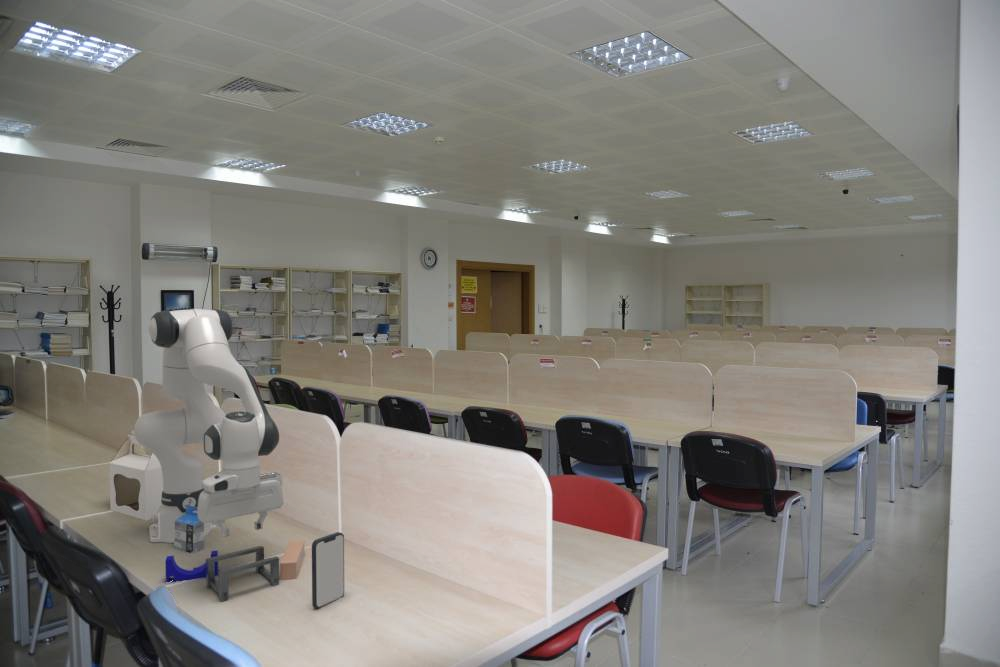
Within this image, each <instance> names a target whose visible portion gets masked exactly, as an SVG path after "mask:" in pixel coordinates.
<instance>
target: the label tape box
mask: <svg viewBox="0 0 1000 667" xmlns="http://www.w3.org/2000/svg"><path fill="white" fill-rule="evenodd" d="M185 507H186V513H185V514H184V515H182V516H181V517H180V518H178V519H177V520H175V540H174V543H173V544H174V546H173V547H174V549H175V550H180V551H183V552H186V553H190V554H195V553H198V552H200V551H202V550H205V536H204V523H203V522H201V521H200V520H199V519H198V516H197V513H195V512H192V510H195V511H197V510H198V507H194V506H189V505H185Z"/></svg>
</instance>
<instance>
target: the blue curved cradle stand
mask: <svg viewBox="0 0 1000 667" xmlns="http://www.w3.org/2000/svg"><path fill="white" fill-rule="evenodd" d="M210 552H211V553H210V557H209V558H211V557H215V556H219V550H211V551H210ZM217 576H219V561H217V562H215V577H217ZM205 578H206V562H204V563H203V564H202V565H200V566H197V567H194V568H193V569H191V570H188V569H185V568H182V567H180V566H179V565H178V564H177V562H176V560H175V556H174V555H167V556H166V558H165V583H166V582H170V581H172V580H173V581H172V582H171V583H177V582H176V581H179V582H184V581H183V580H186V581H192V580H193V579H194V580H199V579H205Z"/></svg>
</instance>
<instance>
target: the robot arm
mask: <svg viewBox="0 0 1000 667" xmlns="http://www.w3.org/2000/svg"><path fill="white" fill-rule="evenodd" d="M233 326H234V325H233V320H232V317H231V315H230V314H229V313H228V312H227V311H225V310H222V309H217V308H214V309H205V308H190V309H178V310H167V309H166V310H162V311H161V310H160V311H158V312H155V313H154V314H153V315H152V317H151V318H150V321H149V325H148V331H149V332H148V333H149V336H150V338H151V341H152V343H153V344H154V345H156V347H160V348H163V352H162V378H161V379H162V389H163V392H164V393H165V395H167V396H170V397H172V398H173V399H177V400H179V401H182V402H184V407H181V408H173V409H163V410H162V409H161V410H155V411H151V412H147V413H144V414H141V415H140V416H139V417H138V418H137V420H136V421H135V423H134V428H133V430H134V435H135V438H136V440H137V441H138V442H139V444H141V446H142V448H146V449H147V450H148V451H150V452H151V454H152V453H153V454H154V455H155V456H156V457H157V459H158V460H159V462H160V465H161V468H162V475H163V491H162V495H161V503H162V504H161V506H160V507H159V509H158V510H157V515H151V519H150V520H151V521H150V522H151V523H152V524H150V525H149V527H148V531H149V533H148V534H149V543H168V544H169V543H170V544H171V543H173V544H174V540H175V520H177V519H178V518H180V517H181V516H182V515H184V514H185V513H186V507H185V505H189V506H194V507H198V510H197V511H195V510H192V512H195V513H197V516H198V519H199V520H200V521H201V522H203V523H204V537H205V536H206V535H208V534H209V533H210V532H211V531H212V530H214V529H215V528H217V526H218V527H219V530H220V532H221V534H220V535H221V536H220V537H222V538H227V537H230V533H231V532H230V528H228V527H225V526H224V525H223V524H225V523H226V520H228V519H233V518H238V517H243V516H249V515H252V514H253V515H254V514H259V517H258V519H257V521H254V523H253V524H254V530H256V531H259V530H263V526H264V524H263V523H264V521H265V520H266V517H267V516H268V511H272V510H277V509H281V507H282V506H283V505H284V495H283V494H284V493H283V490H282V487H283V477H282V475H281V474H280V473H278V472H277V471H276V472H275V471H274V472H273V471H272V472H270V473H261V461H260V459H259V457H265V456H269V455H271V453H272V452H273V451H274V450H275V449H276V447H277V446H278V445H279V442H280V432H279V429H278V427H277V424H276V422H275V421H274V420H273V418H272V417H271V415H270V414H269V411H268V409H267V407H266V405H265V402H264V401H263V400H264V399H262V396H261V394H260V391H259V390H258V387H257V385H256V383H255V380H254V378H253V376H252V375H251V373H250V371H249V370H248V368H247V367H245V366H243V365H241V364H240V363H239V361H237V360H236V359H235V357H234V355H233V354H232V351H231V349H230V348H231V347H230V344H229V340H231V338H232V336H233V330H234V329H233V328H234V327H233ZM205 385H208V386H211V387H216V388H221V389H224V390H227V391H230V392H231V393H234V394H235V395H237V396H238V397H239V399H240V401H241V402H242V406H243V408H244V410H245V411H240V410H239V411H231V412H228V413H225V411H223V409H222V408H220V407H219V406H217V405H215V403H213V402H212V400H211V399H210V398H209V396H208V395H207V392H206V389H205ZM200 443H201V444H202V443H203V451H204V453H205V455H206V456H208V457H209V458H211V459H212V460H214V461H222V466H221V471H219V472H217V473H215V474H213V475H211V476H209V477H206V478H204V464H203V462H202V461H201V460H200V459H199V458H198V457H195V456H193V455H192V454H188V453H184V452H182V446H184V445H192V444H193V445H194V444H200ZM212 522H215V523H216V524H214V523H212ZM153 523H154V524H153Z"/></svg>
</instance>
